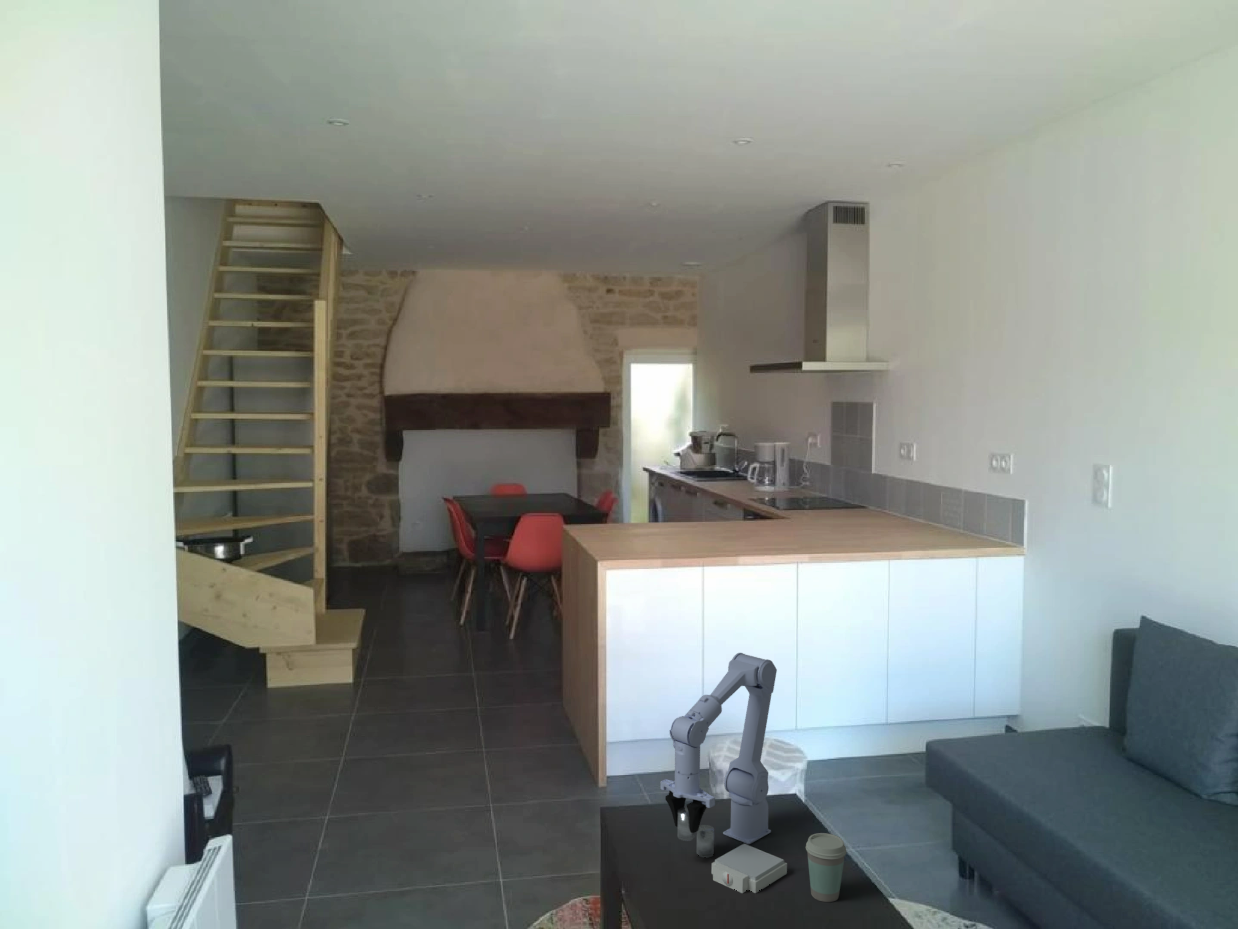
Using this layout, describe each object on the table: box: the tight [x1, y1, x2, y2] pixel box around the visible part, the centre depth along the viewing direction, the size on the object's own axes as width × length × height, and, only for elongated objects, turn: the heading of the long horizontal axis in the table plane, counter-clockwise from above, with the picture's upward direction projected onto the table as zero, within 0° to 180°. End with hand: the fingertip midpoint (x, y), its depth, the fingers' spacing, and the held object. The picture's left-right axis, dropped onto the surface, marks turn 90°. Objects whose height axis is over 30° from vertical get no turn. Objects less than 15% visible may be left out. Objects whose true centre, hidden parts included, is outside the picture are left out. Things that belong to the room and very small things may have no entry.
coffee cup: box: [805, 832, 847, 903], centre depth 200 cm, size 8×9×12 cm
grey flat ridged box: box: [711, 843, 788, 894], centre depth 208 cm, size 14×12×3 cm
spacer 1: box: [677, 806, 696, 842], centre depth 213 cm, size 4×4×6 cm
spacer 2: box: [696, 824, 715, 859], centre depth 218 cm, size 4×4×6 cm
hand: (686, 828), depth 213 cm, fingers closed on spacer 1, 4 cm apart
